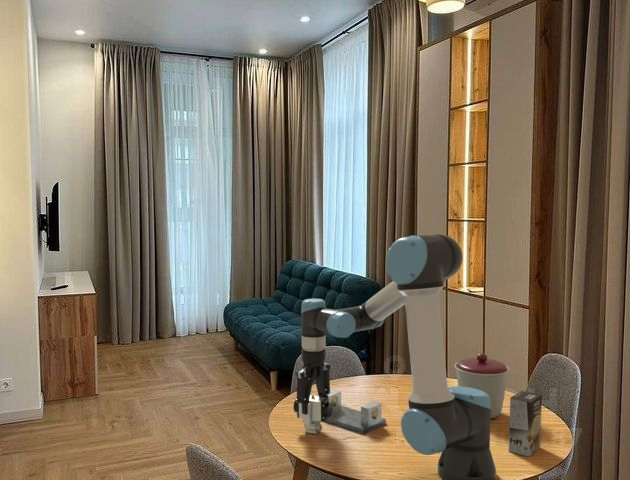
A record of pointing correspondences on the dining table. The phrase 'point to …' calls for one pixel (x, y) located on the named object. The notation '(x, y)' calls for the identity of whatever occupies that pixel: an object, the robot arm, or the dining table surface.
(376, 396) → the dining table surface
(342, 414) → the fittings plate
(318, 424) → the pneumatic valve
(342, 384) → the dining table surface
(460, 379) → the canister
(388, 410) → the dining table surface
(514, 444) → the coffee box
